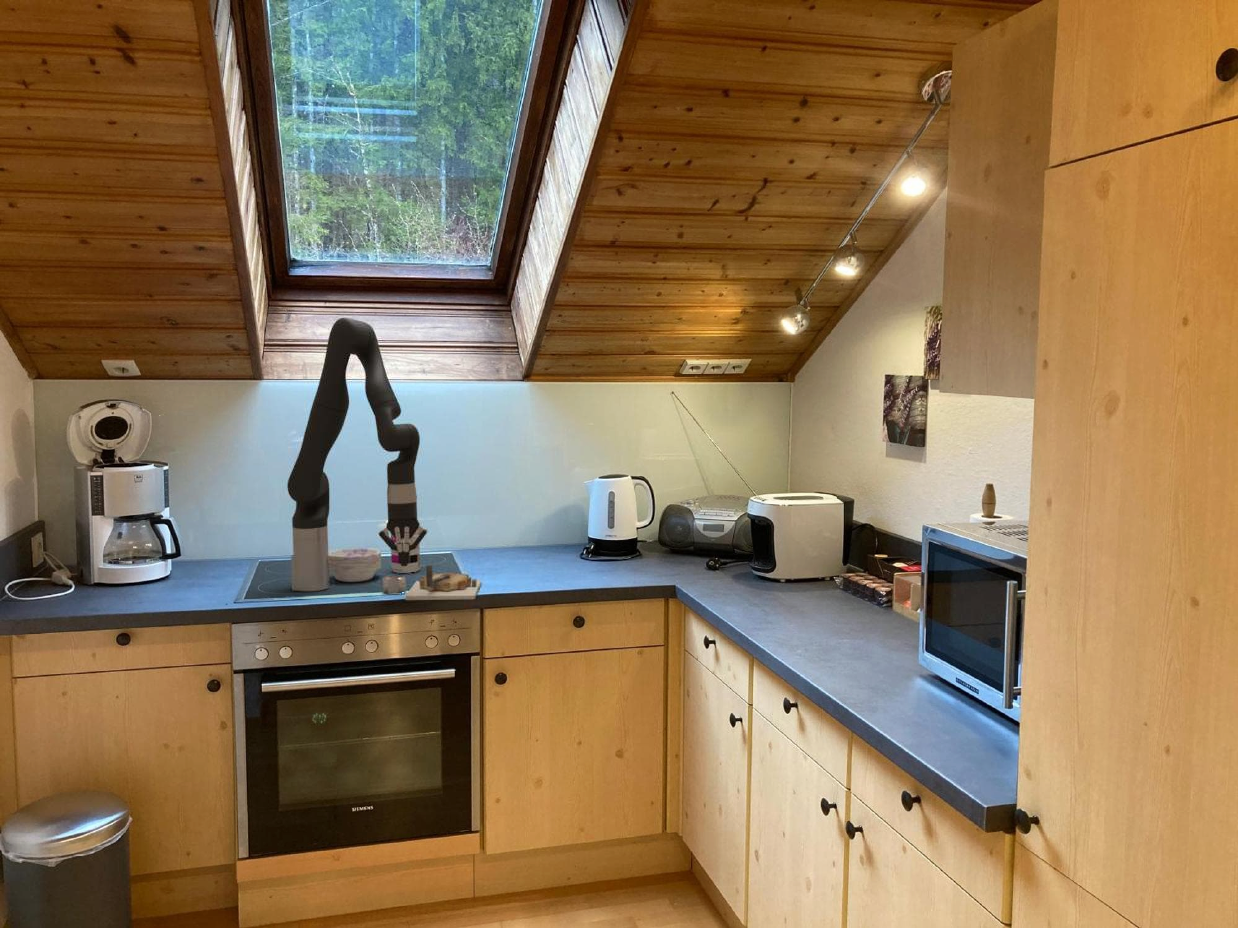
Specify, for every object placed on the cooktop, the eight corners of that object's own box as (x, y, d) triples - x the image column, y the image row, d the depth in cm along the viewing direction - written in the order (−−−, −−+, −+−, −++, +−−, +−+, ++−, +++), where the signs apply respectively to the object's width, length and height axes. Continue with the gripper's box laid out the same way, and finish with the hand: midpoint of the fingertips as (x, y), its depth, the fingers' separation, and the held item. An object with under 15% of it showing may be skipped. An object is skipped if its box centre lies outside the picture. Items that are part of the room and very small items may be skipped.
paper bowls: (371, 571, 305) (370, 545, 304) (389, 580, 292) (388, 553, 292) (320, 577, 297) (319, 550, 296) (336, 587, 284) (335, 558, 283)
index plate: (405, 600, 268) (405, 590, 268) (416, 584, 287) (416, 575, 287) (474, 599, 269) (474, 589, 268) (481, 583, 288) (481, 574, 287)
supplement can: (394, 575, 300) (393, 524, 298) (389, 569, 307) (388, 520, 306) (422, 572, 303) (421, 522, 301) (416, 567, 310) (415, 518, 309)
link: (404, 593, 276) (404, 578, 275) (382, 593, 276) (381, 578, 275) (406, 590, 279) (406, 575, 279) (384, 591, 279) (383, 576, 278)
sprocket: (415, 593, 270) (414, 566, 270) (424, 580, 286) (423, 554, 286) (467, 592, 271) (467, 565, 270) (473, 579, 287) (473, 554, 286)
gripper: (373, 503, 264) (376, 569, 266) (425, 501, 265) (428, 567, 267) (378, 499, 272) (381, 563, 274) (429, 497, 273) (431, 562, 274)
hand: (404, 565), depth 270 cm, fingers closed
